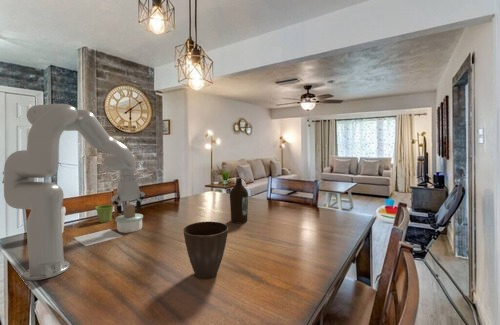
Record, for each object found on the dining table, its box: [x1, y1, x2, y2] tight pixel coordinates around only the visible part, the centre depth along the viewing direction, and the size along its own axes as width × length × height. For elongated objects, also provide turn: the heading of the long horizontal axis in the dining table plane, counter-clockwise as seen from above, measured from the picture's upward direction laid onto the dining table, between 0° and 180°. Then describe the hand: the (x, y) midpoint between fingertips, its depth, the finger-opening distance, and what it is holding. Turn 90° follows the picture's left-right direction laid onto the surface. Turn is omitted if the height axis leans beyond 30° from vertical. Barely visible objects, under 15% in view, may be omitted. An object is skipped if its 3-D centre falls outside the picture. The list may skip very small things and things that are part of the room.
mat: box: [73, 228, 123, 247], centre depth 123 cm, size 16×16×1 cm
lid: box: [114, 204, 144, 223], centre depth 133 cm, size 13×13×7 cm
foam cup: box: [61, 206, 66, 234], centre depth 127 cm, size 10×9×13 cm
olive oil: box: [229, 177, 249, 224], centre depth 148 cm, size 11×11×25 cm
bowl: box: [116, 218, 143, 234], centre depth 134 cm, size 11×11×6 cm
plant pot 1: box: [95, 204, 115, 224], centre depth 150 cm, size 9×9×9 cm
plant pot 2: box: [182, 221, 229, 280], centre depth 88 cm, size 15×15×16 cm
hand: (129, 211), depth 133 cm, fingers open, 9 cm apart
